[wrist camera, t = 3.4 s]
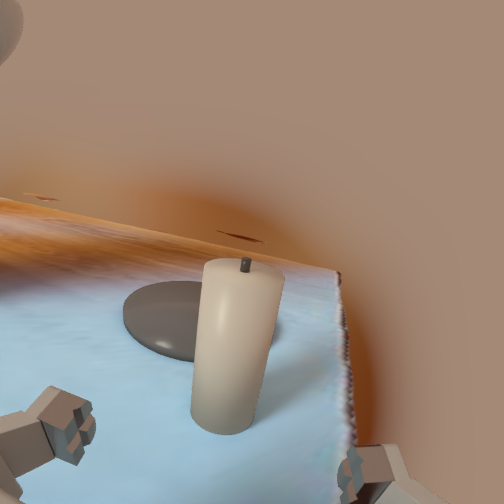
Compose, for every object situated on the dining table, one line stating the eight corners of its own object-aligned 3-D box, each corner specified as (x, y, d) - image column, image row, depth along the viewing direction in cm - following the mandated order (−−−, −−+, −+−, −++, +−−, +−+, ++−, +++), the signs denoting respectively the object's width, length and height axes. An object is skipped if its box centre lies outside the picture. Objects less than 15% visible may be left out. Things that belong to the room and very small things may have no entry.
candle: (177, 407, 22) (188, 251, 19) (221, 385, 26) (243, 244, 23) (222, 444, 19) (251, 279, 16) (265, 415, 23) (302, 266, 20)
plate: (98, 303, 36) (98, 294, 36) (204, 280, 50) (205, 273, 49) (189, 386, 25) (189, 375, 25) (301, 329, 39) (303, 320, 39)
